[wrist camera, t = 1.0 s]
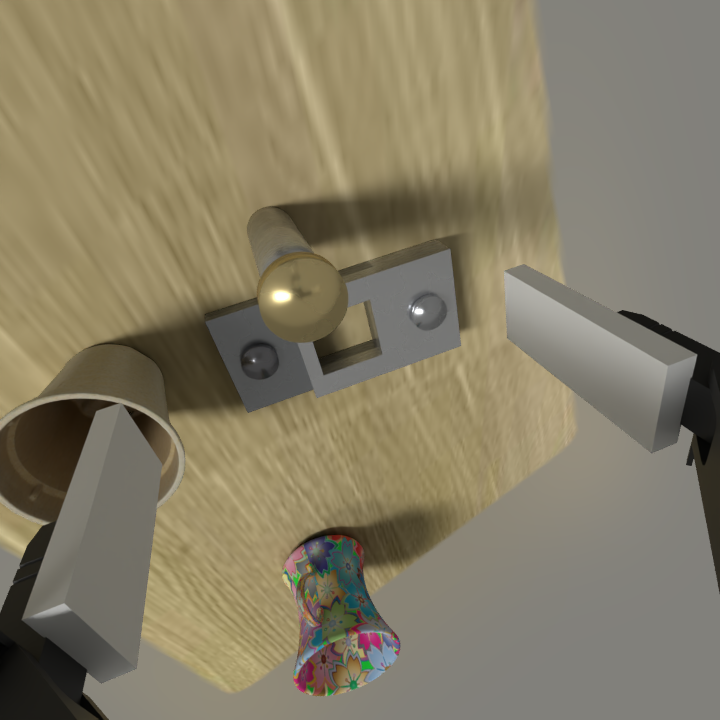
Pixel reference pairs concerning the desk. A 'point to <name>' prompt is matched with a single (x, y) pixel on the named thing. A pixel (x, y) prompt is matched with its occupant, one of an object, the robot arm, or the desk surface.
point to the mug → (336, 618)
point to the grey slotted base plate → (359, 363)
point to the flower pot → (82, 428)
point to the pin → (294, 280)
